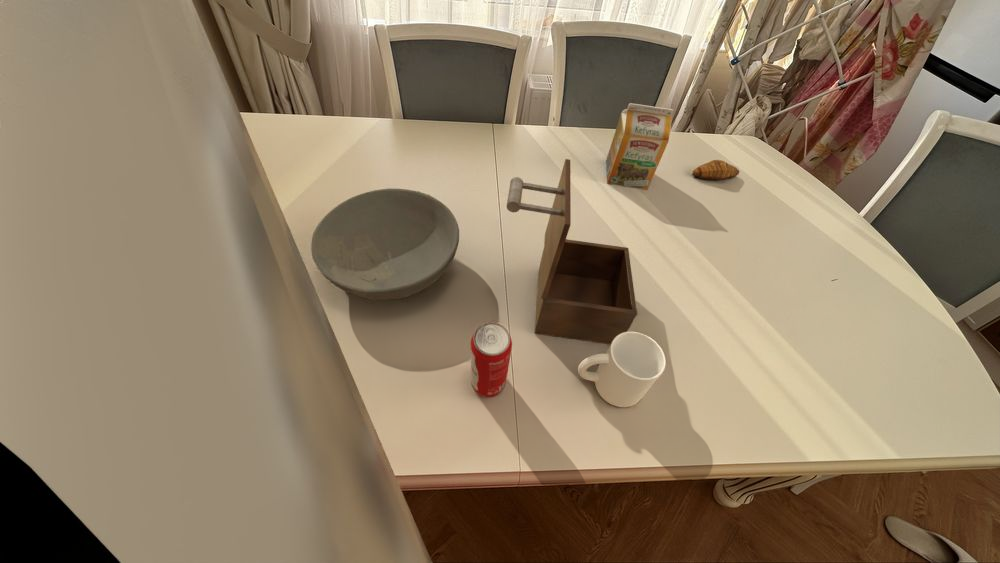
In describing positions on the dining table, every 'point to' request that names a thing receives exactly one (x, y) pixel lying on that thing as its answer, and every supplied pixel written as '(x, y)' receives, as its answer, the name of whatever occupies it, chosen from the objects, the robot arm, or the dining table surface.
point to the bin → (587, 294)
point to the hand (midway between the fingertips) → (111, 306)
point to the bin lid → (557, 219)
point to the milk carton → (638, 145)
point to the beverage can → (490, 359)
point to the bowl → (385, 243)
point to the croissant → (716, 170)
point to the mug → (625, 368)
